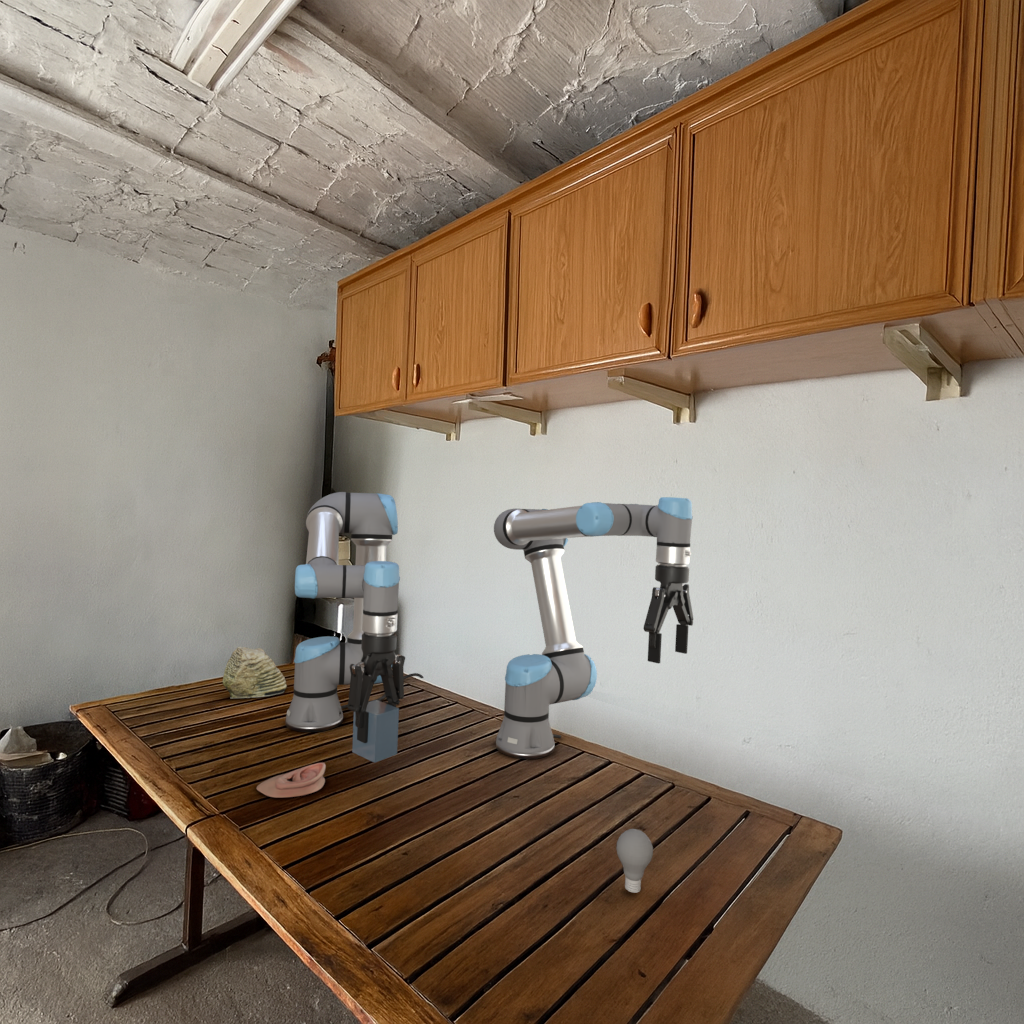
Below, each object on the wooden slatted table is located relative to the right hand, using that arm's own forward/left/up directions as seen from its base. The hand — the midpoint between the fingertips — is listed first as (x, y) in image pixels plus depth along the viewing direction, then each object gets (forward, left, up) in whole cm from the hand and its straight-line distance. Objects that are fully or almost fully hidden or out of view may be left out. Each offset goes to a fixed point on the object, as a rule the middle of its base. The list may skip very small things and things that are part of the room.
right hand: (667, 657), depth 145 cm
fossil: (+11, -126, -30) cm, 130 cm away
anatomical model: (+48, -68, -30) cm, 88 cm away
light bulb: (+42, +7, -30) cm, 52 cm away
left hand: (+38, -54, -19) cm, 68 cm away
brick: (+37, -54, -23) cm, 69 cm away
